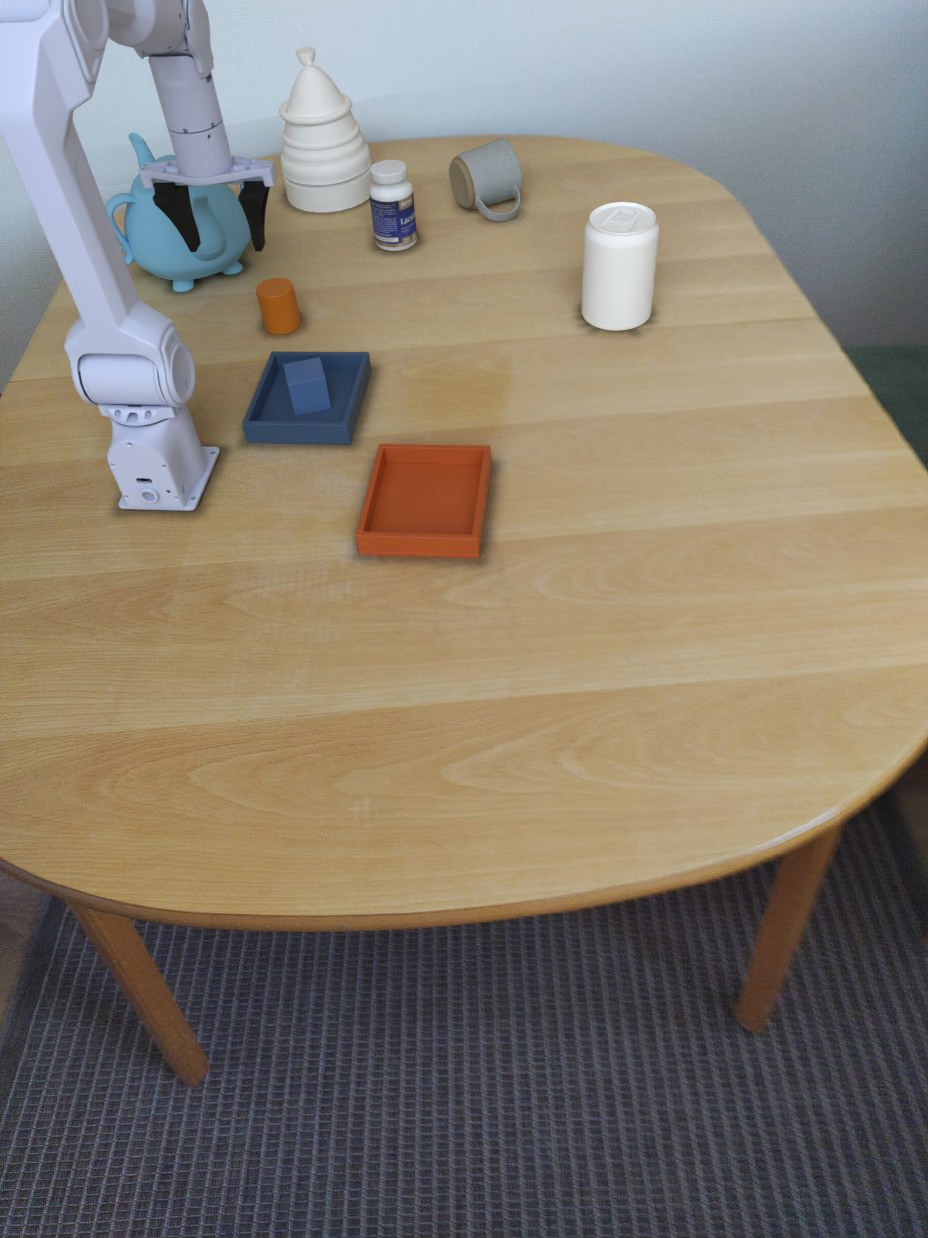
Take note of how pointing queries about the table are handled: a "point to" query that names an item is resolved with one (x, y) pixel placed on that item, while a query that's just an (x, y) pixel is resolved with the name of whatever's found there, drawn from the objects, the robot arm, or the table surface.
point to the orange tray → (425, 501)
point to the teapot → (161, 242)
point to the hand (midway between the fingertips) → (227, 247)
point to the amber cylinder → (278, 305)
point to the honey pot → (322, 144)
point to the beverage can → (619, 265)
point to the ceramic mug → (487, 178)
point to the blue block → (307, 386)
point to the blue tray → (278, 423)
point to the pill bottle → (392, 206)
